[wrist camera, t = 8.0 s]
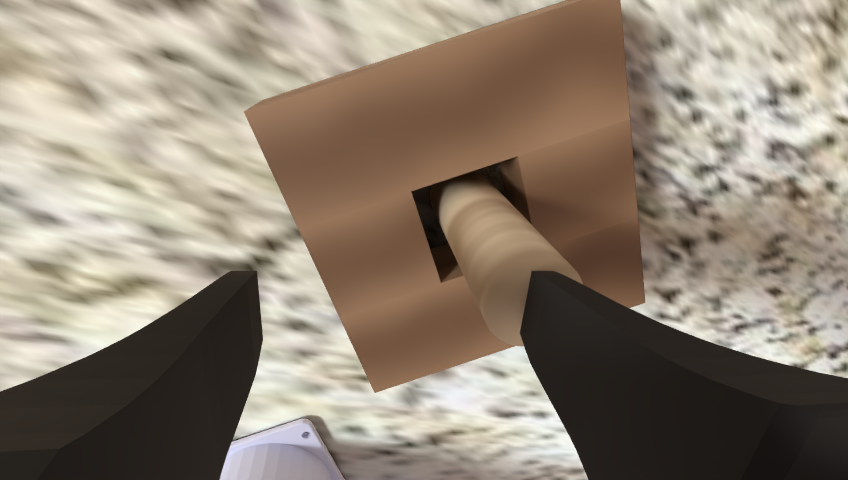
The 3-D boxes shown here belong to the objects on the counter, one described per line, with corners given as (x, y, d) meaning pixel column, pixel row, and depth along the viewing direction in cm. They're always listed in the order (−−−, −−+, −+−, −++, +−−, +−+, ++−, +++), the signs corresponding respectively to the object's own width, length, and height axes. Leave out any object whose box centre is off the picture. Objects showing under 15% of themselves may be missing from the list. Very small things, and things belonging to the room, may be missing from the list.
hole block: (608, 269, 25) (645, 302, 22) (372, 347, 25) (374, 392, 22) (574, -3, 19) (619, -12, 16) (262, 100, 19) (243, 111, 16)
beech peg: (495, 212, 22) (589, 327, 13) (439, 230, 22) (495, 358, 13) (481, 157, 21) (576, 242, 12) (422, 176, 21) (472, 277, 12)
